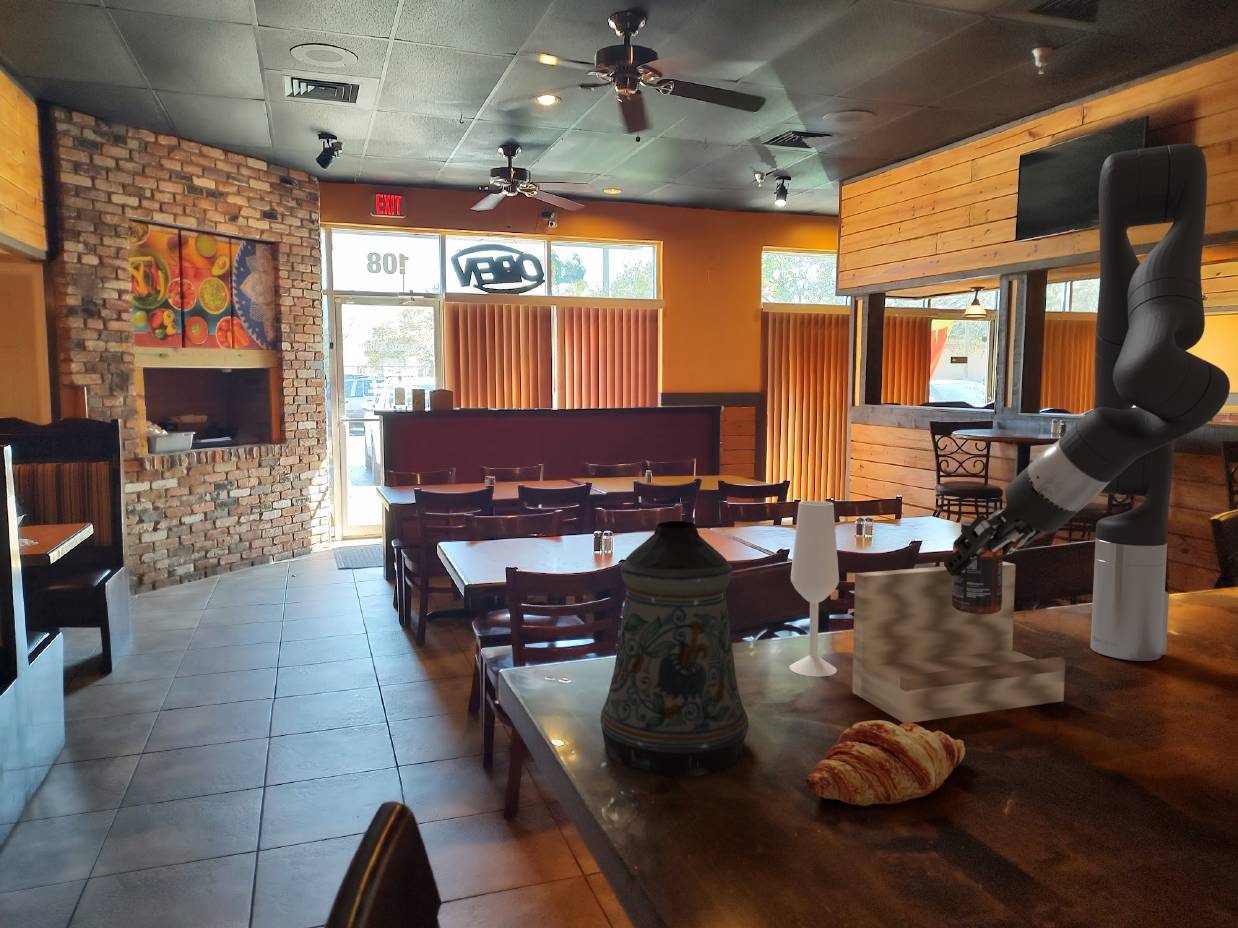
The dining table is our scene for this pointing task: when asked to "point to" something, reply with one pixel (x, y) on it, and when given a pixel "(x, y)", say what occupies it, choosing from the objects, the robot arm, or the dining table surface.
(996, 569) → the supplement bottle
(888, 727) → the croissant
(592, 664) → the dining table surface
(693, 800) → the dining table surface
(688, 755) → the beer stein
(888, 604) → the board
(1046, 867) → the dining table surface
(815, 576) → the champagne flute
